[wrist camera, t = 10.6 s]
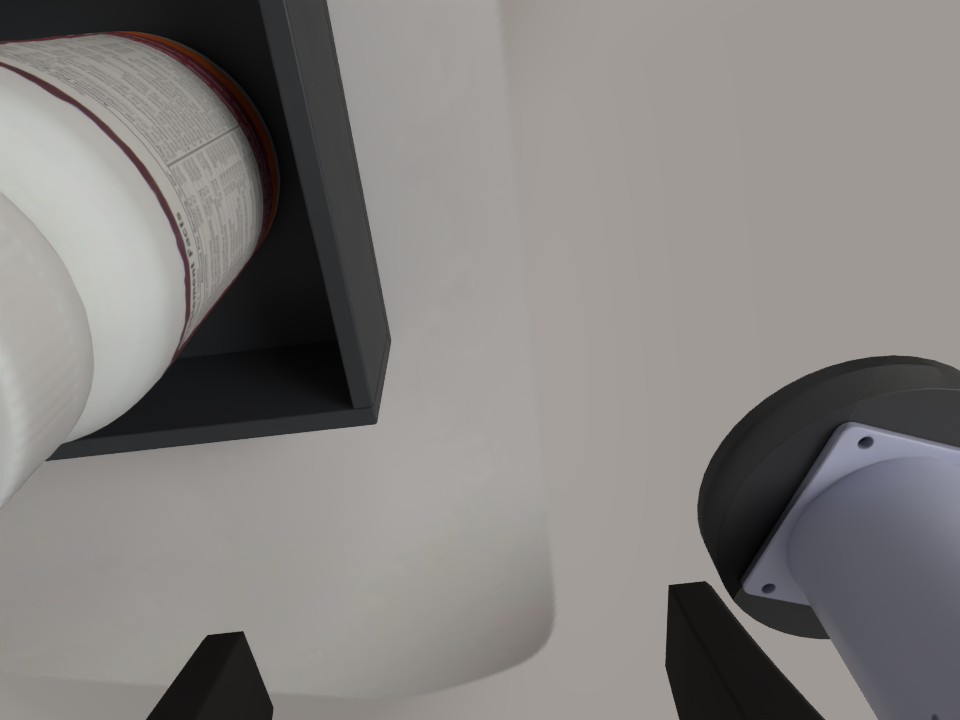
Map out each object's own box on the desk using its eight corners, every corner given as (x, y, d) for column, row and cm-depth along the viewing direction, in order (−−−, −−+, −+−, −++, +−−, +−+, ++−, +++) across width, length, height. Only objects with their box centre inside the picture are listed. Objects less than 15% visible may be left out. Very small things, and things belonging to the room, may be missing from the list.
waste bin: (391, 341, 20) (377, 424, 16) (64, 378, 20) (-28, 470, 17) (298, -151, 15) (241, -205, 11) (-154, -93, 15) (-374, -127, 11)
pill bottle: (76, 280, 18) (-364, 609, 9) (-4, 30, 16) (-816, 86, 6) (303, 273, 19) (132, 589, 9) (264, 24, 16) (-60, 68, 6)
